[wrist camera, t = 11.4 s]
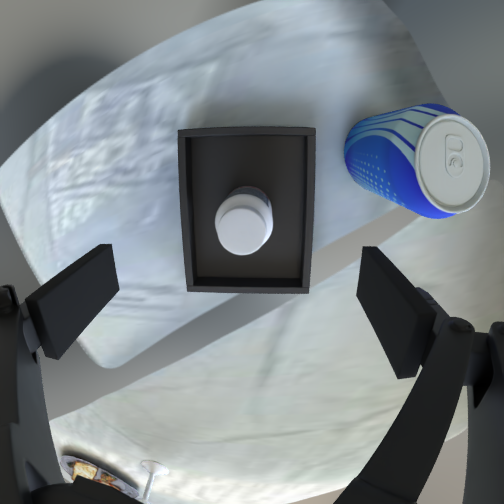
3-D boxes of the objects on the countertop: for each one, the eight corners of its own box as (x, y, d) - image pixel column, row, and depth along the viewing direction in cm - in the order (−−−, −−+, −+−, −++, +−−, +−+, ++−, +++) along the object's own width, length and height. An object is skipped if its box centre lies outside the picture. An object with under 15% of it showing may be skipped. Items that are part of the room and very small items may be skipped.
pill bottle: (216, 194, 33) (199, 210, 24) (263, 179, 32) (261, 190, 23) (233, 239, 34) (222, 269, 26) (278, 225, 33) (281, 252, 25)
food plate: (124, 500, 64) (121, 508, 61) (59, 465, 61) (55, 472, 57) (149, 484, 57) (146, 494, 54) (69, 440, 53) (63, 450, 50)
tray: (185, 131, 31) (177, 129, 28) (311, 129, 30) (315, 127, 27) (192, 281, 37) (187, 291, 34) (305, 282, 36) (309, 293, 33)
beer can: (421, 152, 30) (512, 164, 15) (380, 205, 32) (456, 251, 17) (369, 102, 29) (445, 74, 14) (325, 158, 31) (377, 167, 16)
